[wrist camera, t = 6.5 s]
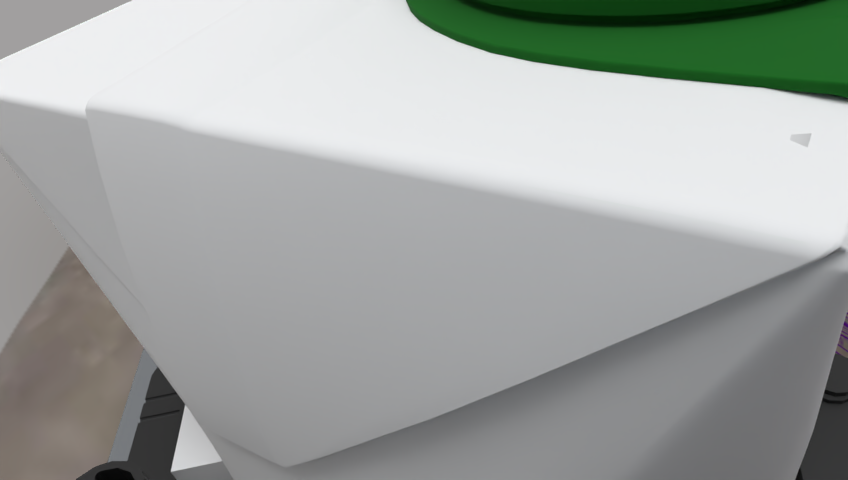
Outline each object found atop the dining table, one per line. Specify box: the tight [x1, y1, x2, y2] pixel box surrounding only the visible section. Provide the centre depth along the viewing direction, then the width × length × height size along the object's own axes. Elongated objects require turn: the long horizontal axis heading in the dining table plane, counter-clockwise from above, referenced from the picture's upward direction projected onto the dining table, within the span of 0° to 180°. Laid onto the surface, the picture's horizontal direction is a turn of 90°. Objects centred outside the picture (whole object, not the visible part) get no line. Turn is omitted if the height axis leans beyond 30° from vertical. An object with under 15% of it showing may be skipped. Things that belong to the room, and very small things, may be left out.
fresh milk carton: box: [0, 0, 848, 480], centre depth 12 cm, size 9×9×20 cm
